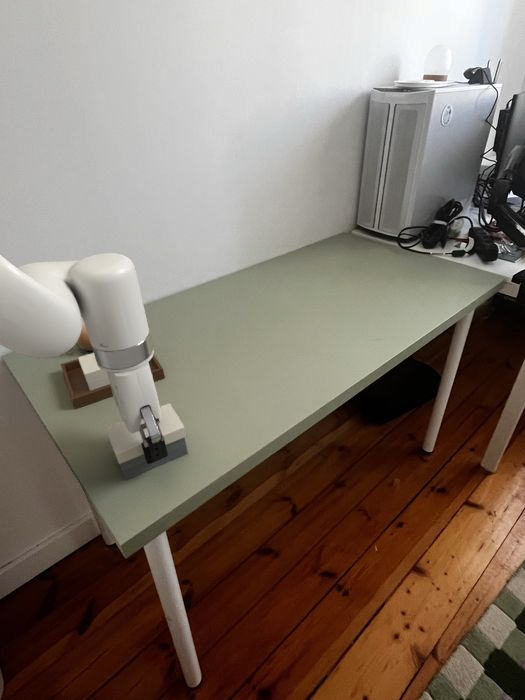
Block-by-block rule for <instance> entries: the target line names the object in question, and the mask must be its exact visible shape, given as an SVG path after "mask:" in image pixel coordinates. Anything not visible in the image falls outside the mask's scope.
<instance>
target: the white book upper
mask: <svg viewBox="0 0 525 700" xmlns="http://www.w3.org/2000/svg"><path fill="white" fill-rule="evenodd" d="M77 359H79V362H80V365H81V368H82V371H83V373H84V376H85V378H86V381H87V383H88V382H91V381H94V380H97V379H100V378H103V377H106V376H108V375H107V372H106V371H104V370H102V369H100V368H99V367H98V365H97V362H96V359H95V355H94V352H93V353H88V354H85V355H82V356H79V357H77Z"/></svg>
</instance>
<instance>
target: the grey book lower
mask: <svg viewBox="0 0 525 700" xmlns="http://www.w3.org/2000/svg"><path fill="white" fill-rule="evenodd" d="M167 453H168V456H167V457H165V458H163V459H161V460H158V461H156V462H153V463H151V464H147V462H143V463H141V464H139V465H136V466H134V467H131V468H129V469H127V470H124V471H122V468H121V465H120V464H119V467H120V469H121V472H122V475H123V477H124V479H125V481H128V480H130V479H132V478H134V477H137V476H139V475H141V474H143V473H146V472H148V471H151V470H153V469H156V468H158V467H160V466H162V465H164V464H166V463H169V462H171V461H174V460H176V459H178V458H181V457H183V456H186V455H188V446H187V444H186V445H184V446H181V447H179V448H177V449H174V450H172V451H170V452H167Z"/></svg>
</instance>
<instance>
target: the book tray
mask: <svg viewBox="0 0 525 700" xmlns="http://www.w3.org/2000/svg"><path fill="white" fill-rule="evenodd" d="M149 366H150V369H151V373H152V375H153V381H154V383H155V382H157V381H160V380H164V379H165V378H166V375H165V372H164V368H163V366H162V365H161V363H160V362H159V360H158V358H157V357H156V356H155V354H154V355H153V357H152V358H151V360H150V361H149ZM60 367H61V370H62V373H63V376H64V379H65V383H66V385H67V389H68V392H69V395H70V398H71V401H72V404H73V407H74V409H75V410H77V409H81V408H84V407H86V406H89V405H92V404H95V403H97V402H100V401H103V400H105V399H108V398H111V397H113V393H112V389H111V385H110V384H109V385H106V386H103V387H100V388H97V389H94V390H91V391H90V390H89V387H88V384H87V382H86V379H85V377H84V374H83V371H82V368H81V365H80V362H79V359H78V358H76V359H73V360H69V361H66V362H63V363H60Z"/></svg>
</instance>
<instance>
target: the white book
mask: <svg viewBox="0 0 525 700" xmlns="http://www.w3.org/2000/svg"><path fill="white" fill-rule="evenodd" d="M160 409H161V415H162V420H161V422H160V423H158V424H159V427H160V429H161V432H162V435H163V436H164V440H165V444H166V445H167V444H169V443H172V442H174V441H177V440H179V439H181V438H184V437H185V438H186V437H187V433H186V427H185V426H184V423H183V422H182V421H181V419H180V417H179V415H178V414H177V412H176V411H175V409H174V408H173V406H172V404H171V403H166V404H164V405H160ZM144 423H145V422H144V420H143V419H142V420H141V424H144ZM104 428H105V431H106V434H107V437H108V440H109V442H110V446H111V448H112V451H113V453H114V455H115V458H116V460H117V463H118V464H119V465H120V464H121V463H123V462H126V461H128V460H131V459H133V458H135V457H138V456H140V455H143V454H144V452H143V448H142V445H141V443H143V441H142V438H141V435H140V432H139V431H138V432H135V433H130V432H129V431H128V430H127V428H126V426H125V424H124V422H123V420H120V421H118V422H116V423H113V424H110V425H107V426H105V427H104ZM143 430H144V433H145V436H146V438H147V437H149V433H148V430H147V428H145V429H143Z"/></svg>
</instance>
